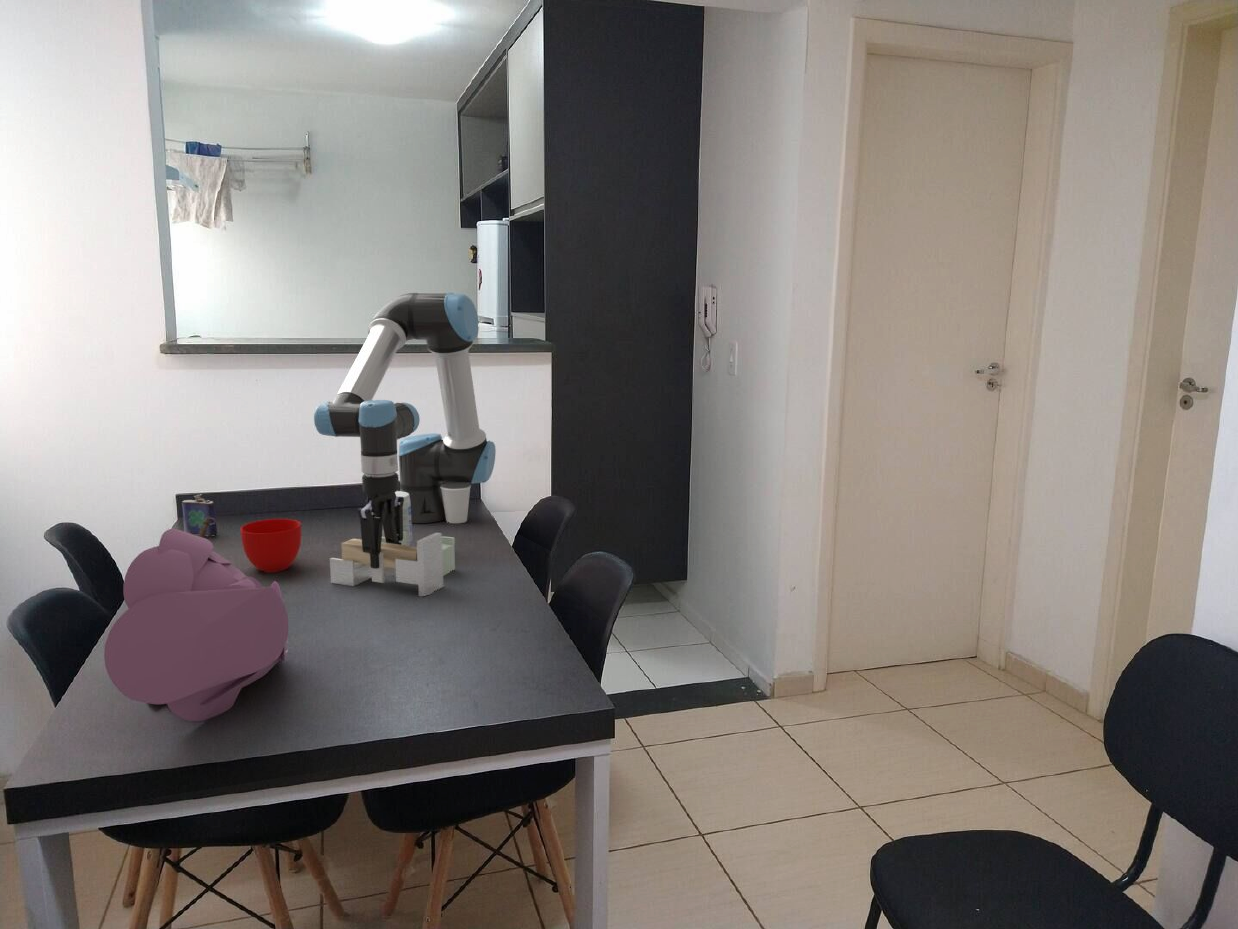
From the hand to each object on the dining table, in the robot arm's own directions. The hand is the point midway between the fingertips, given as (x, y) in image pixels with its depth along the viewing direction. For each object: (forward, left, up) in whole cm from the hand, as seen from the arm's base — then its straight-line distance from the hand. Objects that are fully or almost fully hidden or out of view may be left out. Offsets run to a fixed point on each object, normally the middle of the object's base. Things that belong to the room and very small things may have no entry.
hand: (384, 578), depth 196 cm
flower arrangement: (+53, +5, -2) cm, 54 cm away
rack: (-12, 0, -1) cm, 12 cm away
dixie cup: (-53, -14, -2) cm, 55 cm away
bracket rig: (0, 0, -1) cm, 1 cm away
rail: (0, 0, +3) cm, 3 cm away
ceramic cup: (-2, -31, -2) cm, 31 cm away
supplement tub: (-20, -12, -2) cm, 23 cm away
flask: (-15, -67, -2) cm, 69 cm away
